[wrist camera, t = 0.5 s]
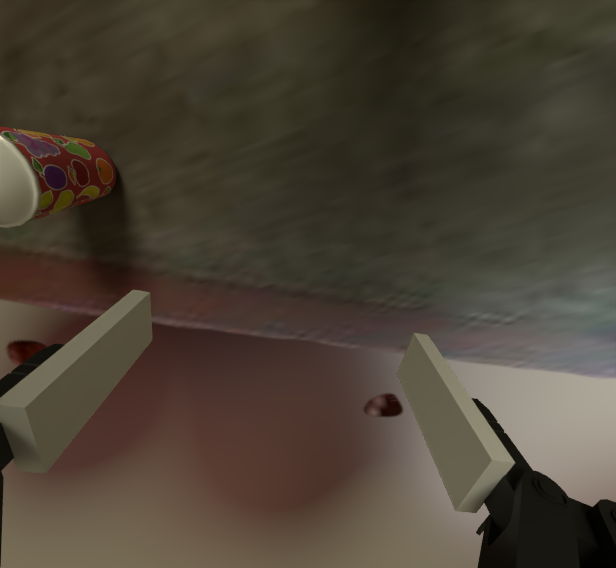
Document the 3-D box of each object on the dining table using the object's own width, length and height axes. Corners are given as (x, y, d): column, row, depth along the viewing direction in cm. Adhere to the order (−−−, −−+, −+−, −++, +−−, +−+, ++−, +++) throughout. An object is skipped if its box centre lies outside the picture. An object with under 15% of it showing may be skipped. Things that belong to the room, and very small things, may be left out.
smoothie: (47, 170, 36) (-215, 188, 18) (76, 115, 33) (-193, 70, 15) (108, 215, 38) (-65, 272, 20) (140, 167, 36) (-25, 182, 18)
